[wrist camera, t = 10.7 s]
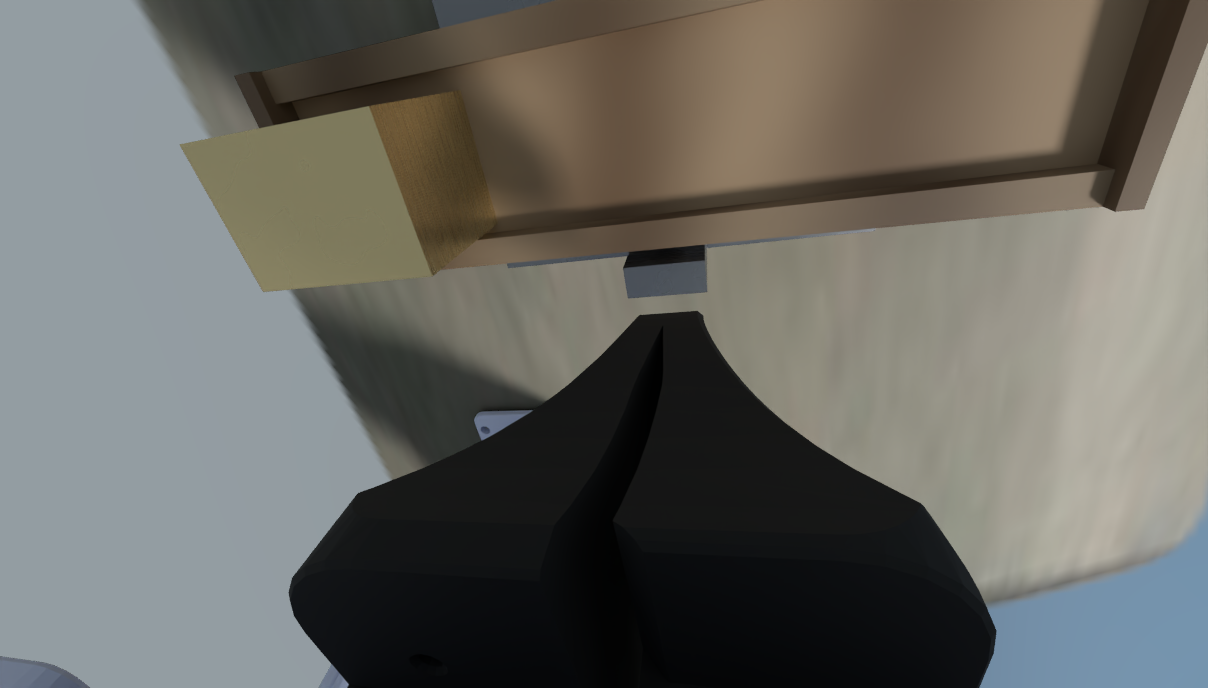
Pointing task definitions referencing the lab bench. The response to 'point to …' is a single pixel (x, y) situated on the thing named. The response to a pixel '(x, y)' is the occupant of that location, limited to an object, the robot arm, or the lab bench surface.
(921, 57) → the beam
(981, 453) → the lab bench surface
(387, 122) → the block
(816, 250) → the lab bench surface
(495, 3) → the pivot stand
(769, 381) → the lab bench surface
